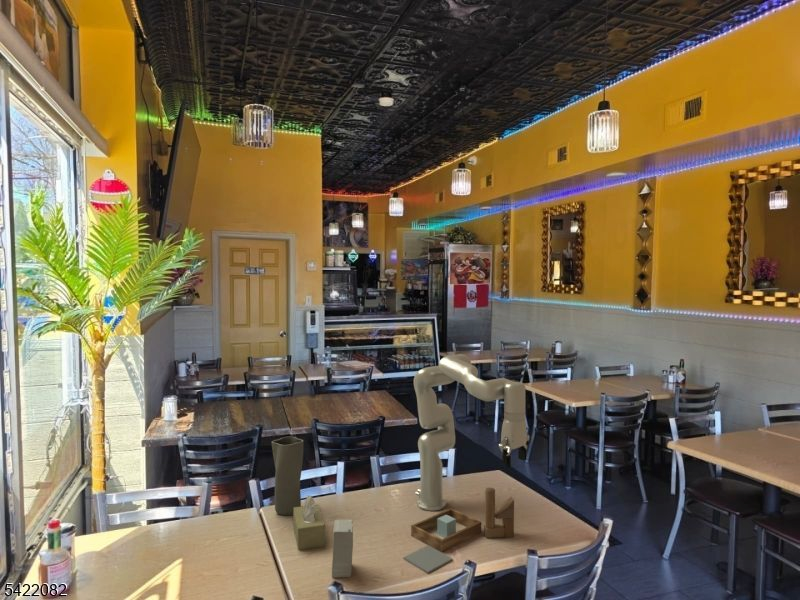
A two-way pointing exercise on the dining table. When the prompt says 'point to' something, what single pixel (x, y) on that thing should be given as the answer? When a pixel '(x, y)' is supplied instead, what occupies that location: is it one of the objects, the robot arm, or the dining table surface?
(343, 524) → the skincare box
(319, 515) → the tissue box
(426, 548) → the mat
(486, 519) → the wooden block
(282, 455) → the vase
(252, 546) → the dining table surface
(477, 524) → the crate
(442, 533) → the block
